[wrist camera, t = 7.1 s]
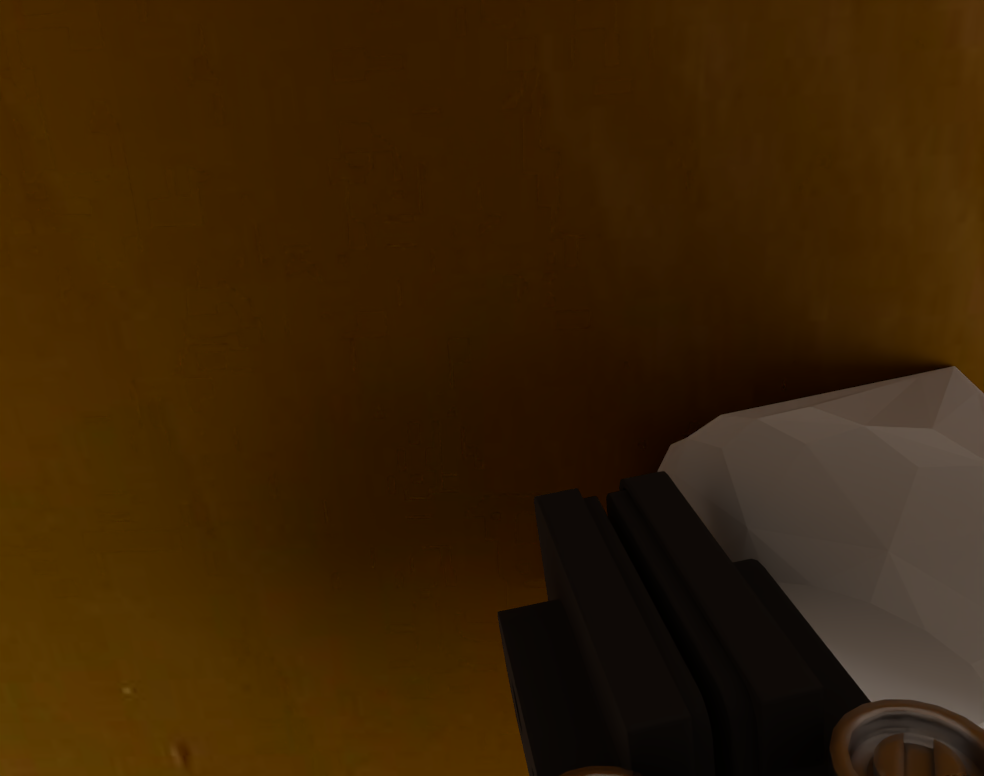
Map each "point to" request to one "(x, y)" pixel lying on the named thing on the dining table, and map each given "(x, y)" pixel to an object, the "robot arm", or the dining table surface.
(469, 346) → the dining table surface
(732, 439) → the gemstone
